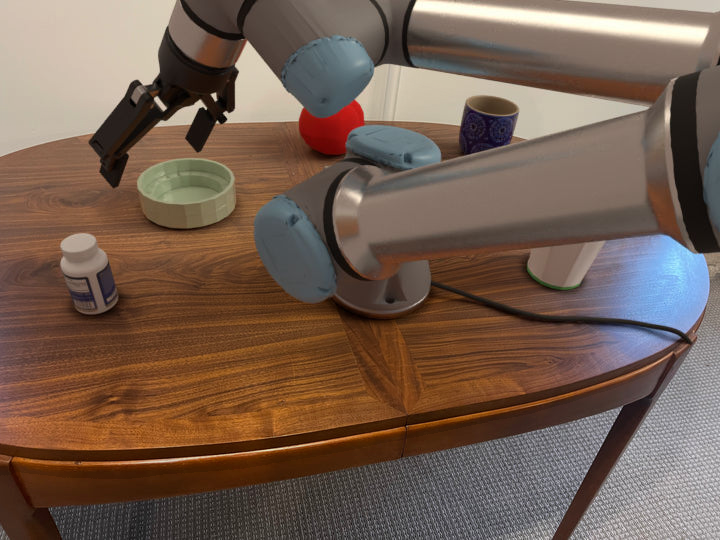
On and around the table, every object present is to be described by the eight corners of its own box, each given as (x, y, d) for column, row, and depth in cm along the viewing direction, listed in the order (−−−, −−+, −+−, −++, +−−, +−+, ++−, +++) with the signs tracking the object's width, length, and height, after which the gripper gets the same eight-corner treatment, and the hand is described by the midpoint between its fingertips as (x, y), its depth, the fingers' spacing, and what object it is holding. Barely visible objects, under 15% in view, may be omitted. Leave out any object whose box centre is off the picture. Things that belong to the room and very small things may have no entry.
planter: (459, 140, 119) (469, 91, 112) (508, 150, 117) (522, 100, 110) (450, 161, 111) (461, 109, 104) (503, 172, 109) (517, 120, 102)
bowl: (254, 203, 93) (253, 177, 90) (186, 242, 82) (182, 215, 79) (193, 174, 99) (190, 149, 96) (122, 207, 89) (116, 181, 85)
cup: (546, 306, 77) (581, 217, 68) (498, 256, 86) (523, 171, 76) (612, 290, 81) (654, 203, 72) (560, 243, 90) (591, 161, 81)
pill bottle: (110, 283, 74) (93, 224, 68) (125, 305, 71) (109, 245, 65) (68, 298, 71) (47, 238, 65) (82, 321, 68) (61, 261, 62)
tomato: (368, 162, 108) (374, 107, 101) (302, 165, 105) (303, 108, 98) (355, 136, 117) (359, 84, 110) (294, 138, 114) (294, 84, 107)
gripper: (262, -1, 64) (206, 113, 80) (68, 36, 47) (45, 171, 63) (302, 47, 64) (238, 152, 80) (123, 101, 47) (86, 221, 63)
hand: (153, 161), depth 71 cm, fingers open, 13 cm apart
